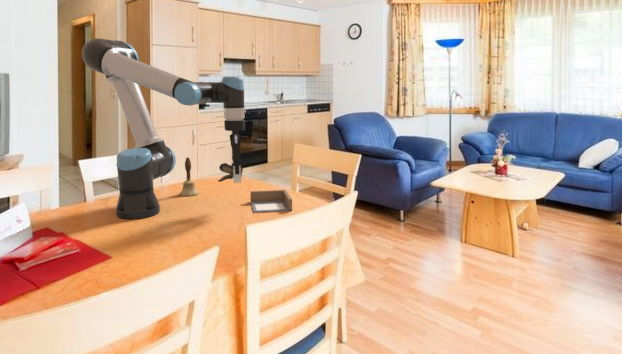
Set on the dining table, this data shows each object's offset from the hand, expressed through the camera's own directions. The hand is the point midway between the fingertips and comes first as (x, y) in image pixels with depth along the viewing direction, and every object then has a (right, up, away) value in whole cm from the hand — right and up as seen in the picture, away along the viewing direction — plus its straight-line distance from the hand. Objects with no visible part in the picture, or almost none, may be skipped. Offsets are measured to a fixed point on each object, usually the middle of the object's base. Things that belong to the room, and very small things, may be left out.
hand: (236, 180), depth 165 cm
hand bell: (-25, -6, +24) cm, 35 cm away
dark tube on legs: (-3, 0, 0) cm, 2 cm away
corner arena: (+12, -10, +7) cm, 17 cm away
